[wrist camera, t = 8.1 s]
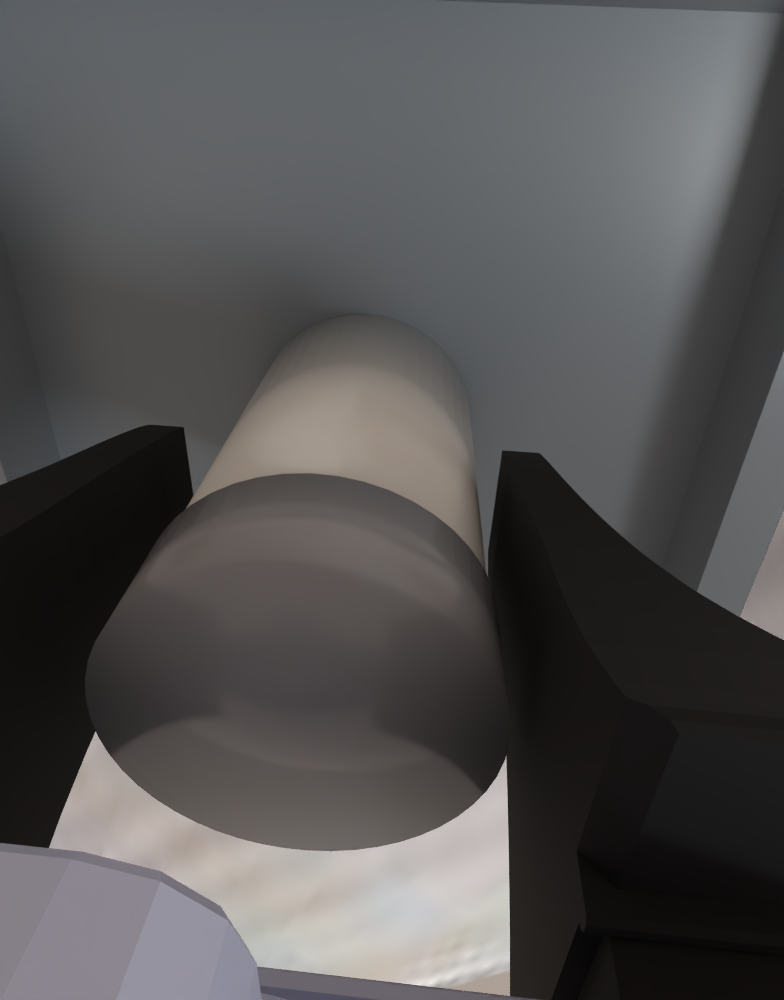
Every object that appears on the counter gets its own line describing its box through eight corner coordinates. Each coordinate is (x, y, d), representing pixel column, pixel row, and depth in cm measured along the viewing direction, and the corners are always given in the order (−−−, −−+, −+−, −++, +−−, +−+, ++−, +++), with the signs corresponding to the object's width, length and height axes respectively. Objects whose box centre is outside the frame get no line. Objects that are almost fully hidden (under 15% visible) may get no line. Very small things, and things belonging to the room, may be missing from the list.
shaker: (483, 313, 13) (536, 571, 6) (466, 514, 15) (490, 862, 8) (245, 305, 13) (33, 549, 6) (266, 506, 15) (130, 839, 9)
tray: (914, -63, 10) (1038, -102, 8) (650, 689, 18) (675, 768, 16) (-118, -94, 11) (-260, -139, 9) (87, 638, 19) (40, 706, 17)
